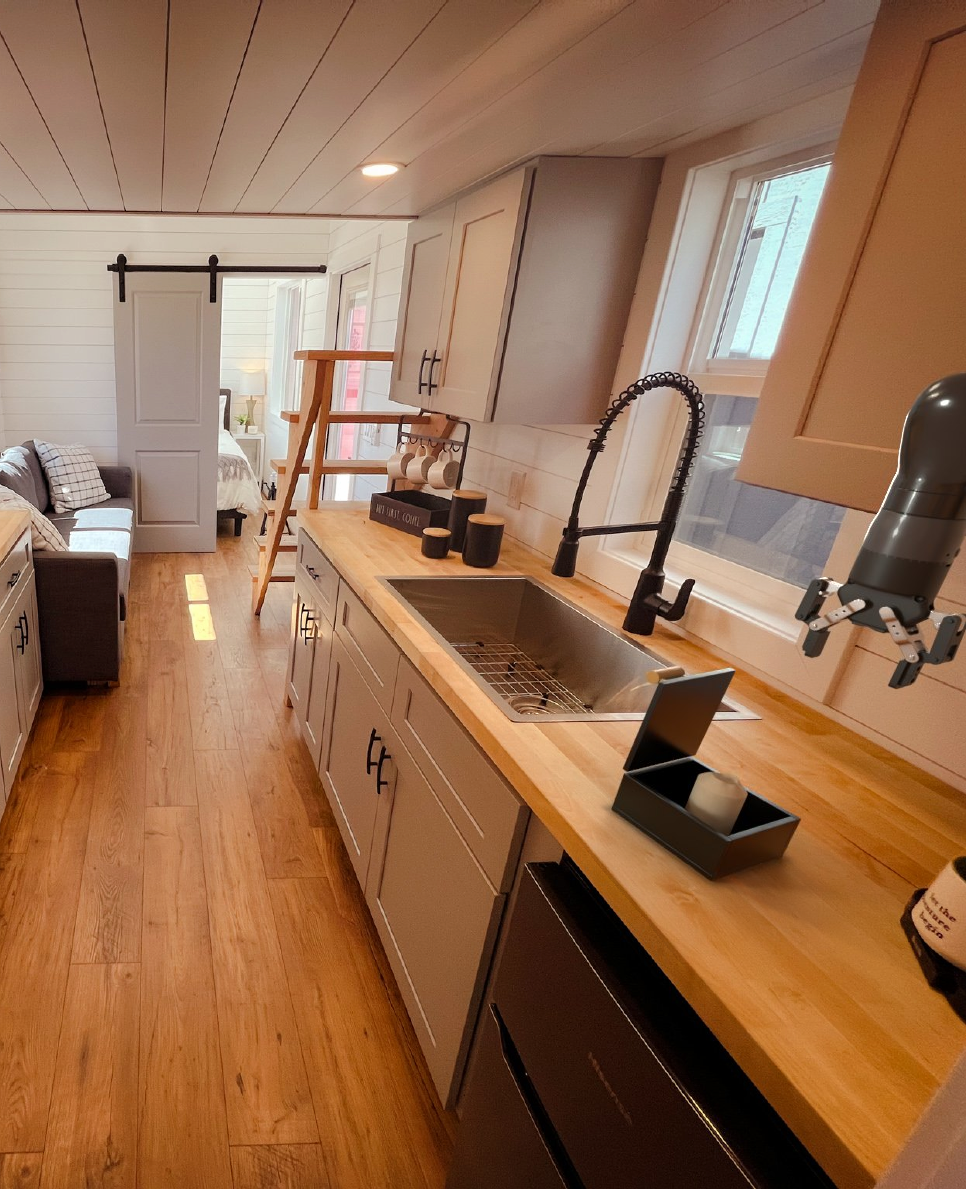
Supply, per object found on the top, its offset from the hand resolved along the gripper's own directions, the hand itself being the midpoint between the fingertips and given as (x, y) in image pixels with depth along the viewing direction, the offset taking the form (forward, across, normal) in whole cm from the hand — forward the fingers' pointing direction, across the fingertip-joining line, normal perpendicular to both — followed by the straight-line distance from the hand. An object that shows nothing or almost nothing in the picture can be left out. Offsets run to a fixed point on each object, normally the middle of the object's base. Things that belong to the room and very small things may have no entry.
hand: (852, 671), depth 81 cm
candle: (+28, -4, -8) cm, 29 cm away
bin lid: (+13, -12, -8) cm, 20 cm away
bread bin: (+28, -6, -8) cm, 30 cm away
